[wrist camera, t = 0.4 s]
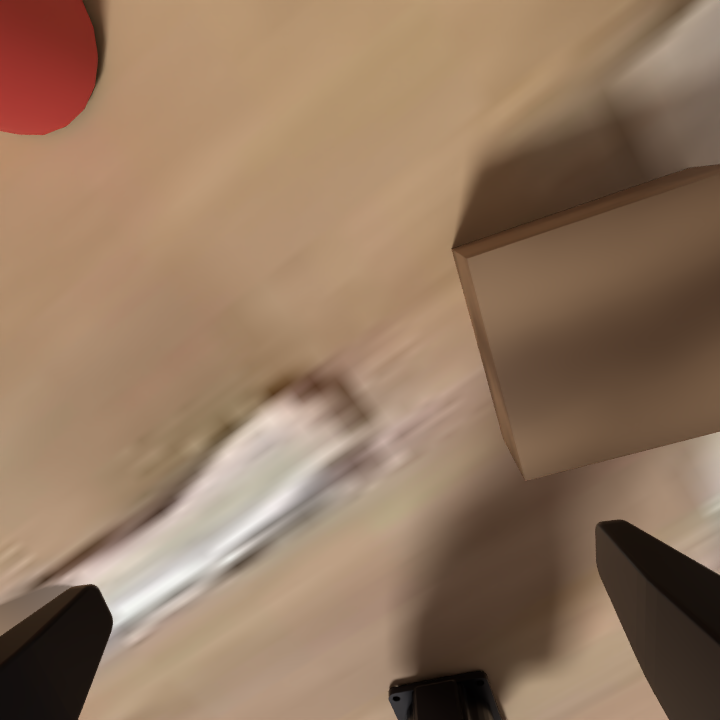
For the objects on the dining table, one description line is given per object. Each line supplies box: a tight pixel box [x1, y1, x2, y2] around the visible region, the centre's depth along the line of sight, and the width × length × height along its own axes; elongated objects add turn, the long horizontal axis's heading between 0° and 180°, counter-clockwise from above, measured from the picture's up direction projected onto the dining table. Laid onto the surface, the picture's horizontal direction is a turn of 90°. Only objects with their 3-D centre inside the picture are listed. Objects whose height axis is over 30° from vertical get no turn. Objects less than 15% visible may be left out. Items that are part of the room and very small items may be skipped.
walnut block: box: [452, 164, 720, 481], centre depth 19 cm, size 10×10×4 cm
